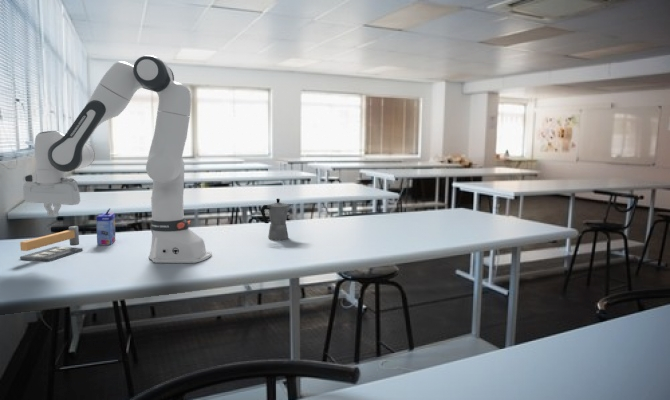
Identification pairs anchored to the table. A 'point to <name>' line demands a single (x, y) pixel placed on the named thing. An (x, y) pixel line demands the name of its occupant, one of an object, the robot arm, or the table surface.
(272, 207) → the coffeepot
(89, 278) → the table surface
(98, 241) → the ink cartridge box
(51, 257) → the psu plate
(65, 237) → the hammer
